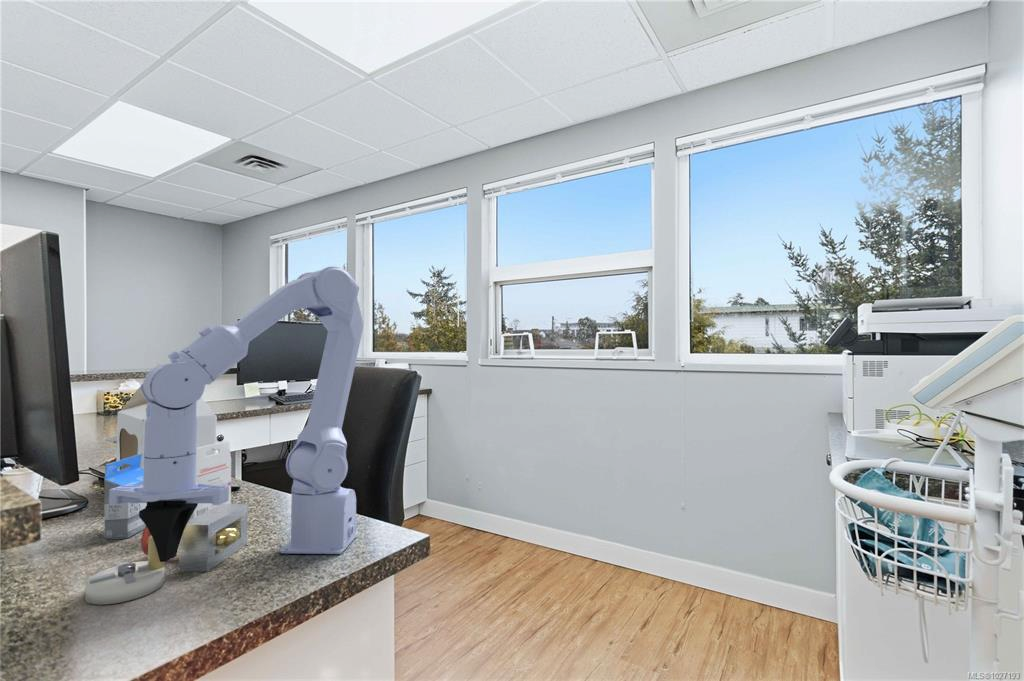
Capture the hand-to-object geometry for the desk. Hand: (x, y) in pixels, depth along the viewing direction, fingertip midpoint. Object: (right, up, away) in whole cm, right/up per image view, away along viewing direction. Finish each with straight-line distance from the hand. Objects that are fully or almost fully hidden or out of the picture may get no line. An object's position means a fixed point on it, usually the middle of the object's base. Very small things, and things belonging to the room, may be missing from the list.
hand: (167, 558), depth 65 cm
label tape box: (-20, -4, +20) cm, 29 cm away
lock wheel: (-4, -3, -1) cm, 6 cm away
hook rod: (-2, -3, +9) cm, 10 cm away
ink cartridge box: (-9, -4, +21) cm, 23 cm away
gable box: (-31, -5, +44) cm, 54 cm away
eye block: (+1, -4, +9) cm, 10 cm away
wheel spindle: (-4, -1, -1) cm, 5 cm away
